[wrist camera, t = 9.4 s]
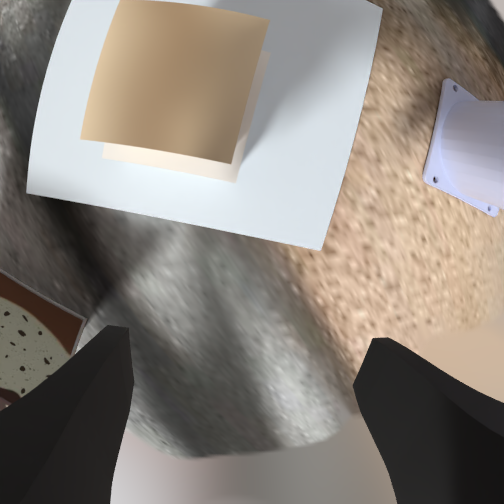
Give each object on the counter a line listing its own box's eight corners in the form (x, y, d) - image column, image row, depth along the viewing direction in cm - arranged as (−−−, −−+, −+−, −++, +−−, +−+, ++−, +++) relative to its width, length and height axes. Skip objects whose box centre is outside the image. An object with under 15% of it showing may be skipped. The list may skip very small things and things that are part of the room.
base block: (260, 67, 14) (270, 52, 11) (231, 175, 16) (235, 183, 13) (148, 46, 13) (135, 28, 10) (121, 154, 14) (101, 158, 12)
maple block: (251, 57, 11) (270, 19, 7) (225, 156, 12) (231, 164, 8) (148, 40, 10) (120, -1, 6) (122, 138, 12) (79, 139, 7)
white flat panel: (375, 13, 14) (382, 8, 13) (315, 245, 19) (320, 250, 18) (100, -42, 10) (96, -49, 9) (34, 190, 15) (26, 193, 14)
